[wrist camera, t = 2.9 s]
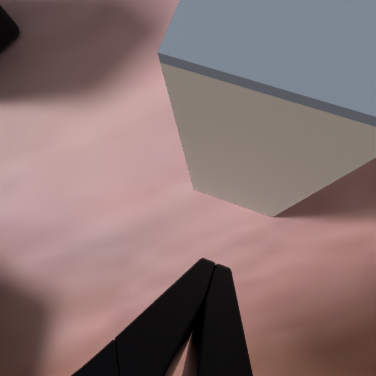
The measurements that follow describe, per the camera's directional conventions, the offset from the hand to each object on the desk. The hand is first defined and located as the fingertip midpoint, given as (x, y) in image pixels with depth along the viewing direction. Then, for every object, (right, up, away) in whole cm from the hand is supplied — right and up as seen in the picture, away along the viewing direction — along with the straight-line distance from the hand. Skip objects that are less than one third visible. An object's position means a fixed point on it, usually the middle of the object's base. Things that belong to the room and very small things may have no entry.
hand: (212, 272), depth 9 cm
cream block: (+3, +4, +9) cm, 10 cm away
